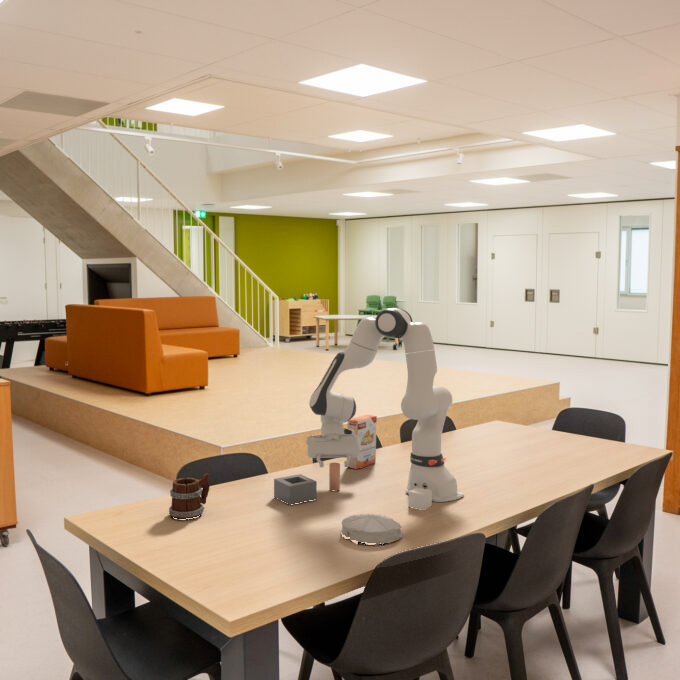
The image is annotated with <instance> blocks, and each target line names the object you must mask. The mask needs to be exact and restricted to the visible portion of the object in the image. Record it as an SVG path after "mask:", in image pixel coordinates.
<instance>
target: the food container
mask: <svg viewBox="0 0 680 680" xmlns="http://www.w3.org/2000/svg"><path fill="white" fill-rule="evenodd" d="M341 525H342V526H341V527H342V528H341V530H342V531H341V530H340V533H341V532H342V534H343V535H345V536H346V537H350V539H351V540H356V541H358V542H364V543H365V542H367V543H376V544H380V543H381V544H382V545H383V543H388V544H391V543H394V542H396V541H397V540H400V539H401V538H402V537H403V532H402V531H401V528H402V525H401V524H400V523H399V522H398V521H396V520H395V519H393V518H391V517H390V516H386V515H381V514H374V513H365V514H364V513H360V514H353V515H348V516H347V517H345V518H344V519H342V520H341Z"/></svg>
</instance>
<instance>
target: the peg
mask: <svg viewBox="0 0 680 680" xmlns="http://www.w3.org/2000/svg"><path fill="white" fill-rule="evenodd" d="M328 470H329V474H328V476H329V482H328V483H329V487H328V488H329V489H330V490H339V489H340V490H341V463H339V462H329V469H328ZM330 490H329V491H330Z"/></svg>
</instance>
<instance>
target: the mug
mask: <svg viewBox="0 0 680 680" xmlns="http://www.w3.org/2000/svg"><path fill="white" fill-rule="evenodd" d="M209 477H210V473H208V472H207V473H205V472H204V474H203V475H202V476H201V477H200V478H199V479H197V478H194V477H186V478H184V477H181V478H177V479H175V480H173V481H172V488H171V489H170V490H169V491H170V492H169V493H170V497H171V505H170V506H169V507H168V514H169V515H170V517H171V516H172V517H174V518H177V519H186V518H193V517H197V516H199V515H201V514H202V515H203V512H204V511H205V506H204V505H205V504H206V503H207V498H208V494H209V491H210V487H211V485H210V481H209ZM200 486H201V487H200ZM202 515H201V516H202Z"/></svg>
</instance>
